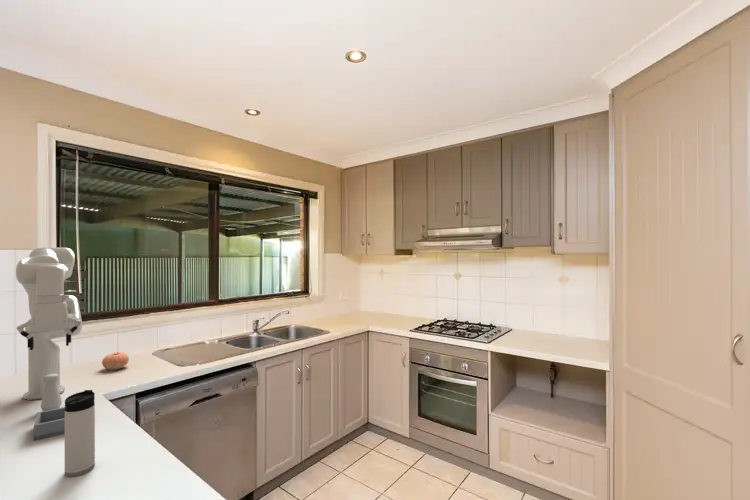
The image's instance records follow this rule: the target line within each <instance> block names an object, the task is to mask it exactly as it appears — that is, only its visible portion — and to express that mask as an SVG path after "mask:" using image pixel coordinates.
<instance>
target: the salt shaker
mask: <svg viewBox="0 0 750 500" xmlns="http://www.w3.org/2000/svg"><path fill="white" fill-rule="evenodd" d="M58 379H59V375H58V374H49V375H46V376H45V377H44V379H43V382H44V383H45V388H44V393H43V397H42V399H41V403H40V409H41V412H42V411H47V410H52V409H57V408H61V406H62V401H63V400H62V398H61V397H62V396H61V393H59V389H58V385H57V380H58Z"/></svg>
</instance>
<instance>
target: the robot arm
mask: <svg viewBox="0 0 750 500" xmlns="http://www.w3.org/2000/svg"><path fill="white" fill-rule="evenodd" d="M75 262H76V259H75V253H74V251H73V250H72V249H71V248H68V247H38V248H35V249H33V250H32V251H31V252H30V253H29V256H28V257H26V258H23V259H20V260H19V261H18V262H17V264H16V267H15V278H16V280H17V282H18V283H19V284H21V285H22V287H23V289H24V290H25V292H26V293H27V296H28V309H29V310H28V311H29V315H30V319H28V320H27V321H26V322H25V323H22V324H20V325H17V327H16V330H17V331H18V332H19V333H20V335H21V336H22V337H24V338H26V340H27V349H28V350H27V351H28V353H27V354H28V356H27V357H28V360H27V361H28V362H27V363H28V366H27V367H28V370H27V371H28V372H27V373H28V375H27V376H28V377H27V378H28V379H27V380H28V383H27V384H28V390H27V391H26V392H25V393H24V394H23V395H22V399H24V400H26V399H27V400H29V401H31V400H32V401H33V400H42V397H43V393H44V388H45V383H44V382H43V379H44V377H45V376H46V375H49V374H58V375H59V379H58V380H57V385H58V389H59V393H60V394H62V393H63V392H64V391H65V390H66V387H65V386H63V385H61V348H60V346H59V345H58V344H57V343H56V342H54V341H53V339H58V338H59V339H60V338H65V346H66V347H68V346H69V344H70V343H72V337H73V336H77V335H79V334H80V333H81V332H82V330H83V320H82V314H81V310H80V303H79V300H78V298H77V297H76V296H75V295H71V294H65V281H66V279H69V278H70V277H72V274H73V270H74V266H75Z"/></svg>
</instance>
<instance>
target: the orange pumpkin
mask: <svg viewBox="0 0 750 500" xmlns="http://www.w3.org/2000/svg"><path fill="white" fill-rule="evenodd" d="M129 360H130V358H129V355H128V354H127V353H125V352H121V351H120V352H119V351H117V352H112V353H108V354H107V355H106V356H104V357H103V358H102V360H101V364H102V367H103V368H104V369H106V370H108V371H115V370H120V369H122V368H124V367H126V365H128V363H129Z"/></svg>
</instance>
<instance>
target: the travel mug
mask: <svg viewBox="0 0 750 500" xmlns="http://www.w3.org/2000/svg"><path fill="white" fill-rule="evenodd" d="M95 399H96V397H95V392H94V391H93V389H85V390H83V391H81V392H77V393H74V394H71V395H69V396H68V397H66V398H65V400H64V407H65V433H64V476H65V477H70V478H73V477H74V478H75V477H79V476H82V475H85V474H87V473H89V472H90V471H92V470H93V469H94V468H95V466H96V460H95V459H96V455H95V452H96V447H95V446H96V440H95V439H96V435H95V434H96V433H95V432H96V426H95V425H96V414H95V413H96V411H95V410H96V404H95V403H96V402H95Z"/></svg>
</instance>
